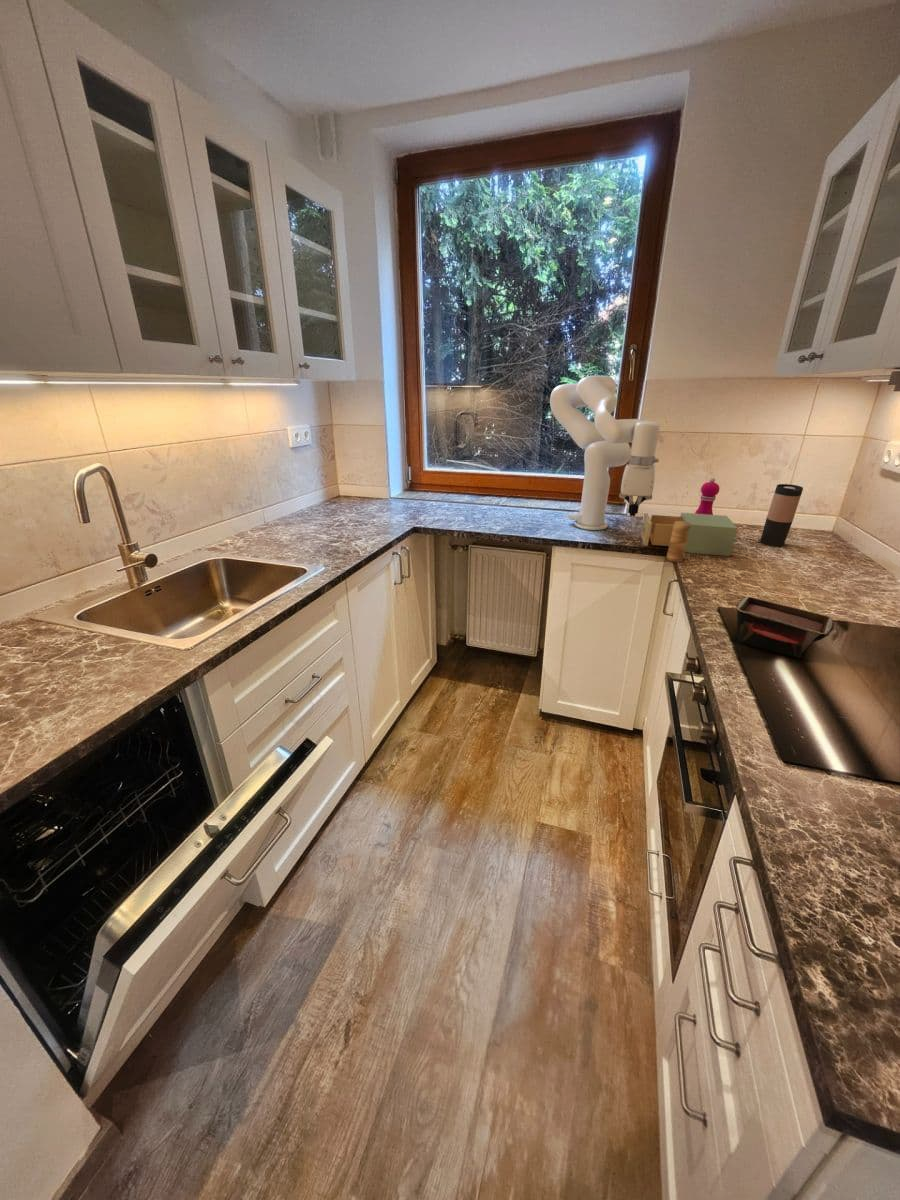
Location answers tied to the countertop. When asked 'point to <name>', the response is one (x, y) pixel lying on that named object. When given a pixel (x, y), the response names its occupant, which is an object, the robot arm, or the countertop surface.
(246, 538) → the countertop surface
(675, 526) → the cork textured cylinder
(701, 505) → the pepper mill
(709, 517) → the cabinet
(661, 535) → the drawer
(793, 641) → the baking dish
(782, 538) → the travel mug
